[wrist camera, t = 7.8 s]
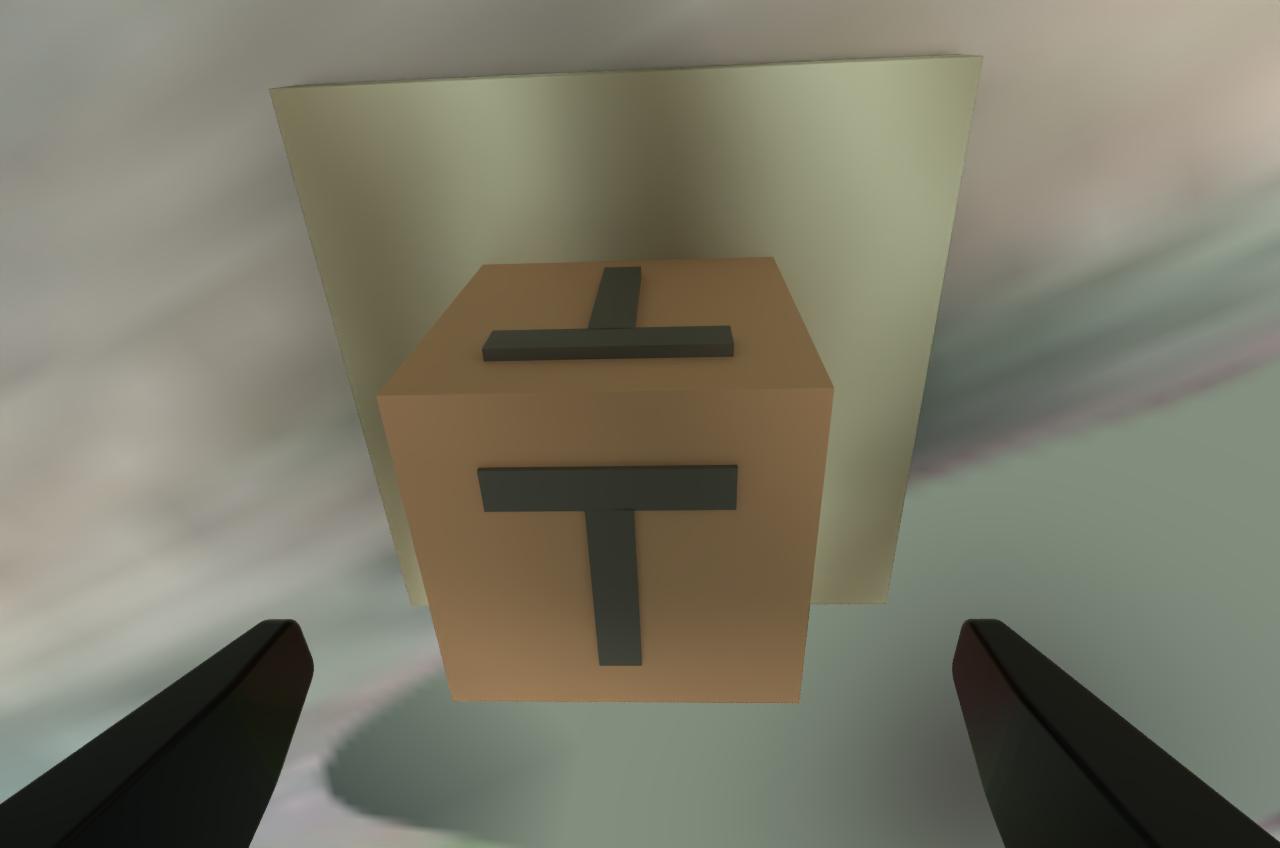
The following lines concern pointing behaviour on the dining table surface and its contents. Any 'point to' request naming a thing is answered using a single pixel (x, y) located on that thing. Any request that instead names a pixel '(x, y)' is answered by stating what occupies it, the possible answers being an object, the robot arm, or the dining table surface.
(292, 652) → the robot arm
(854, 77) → the cream flat square slab
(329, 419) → the dining table surface
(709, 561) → the letter cube
